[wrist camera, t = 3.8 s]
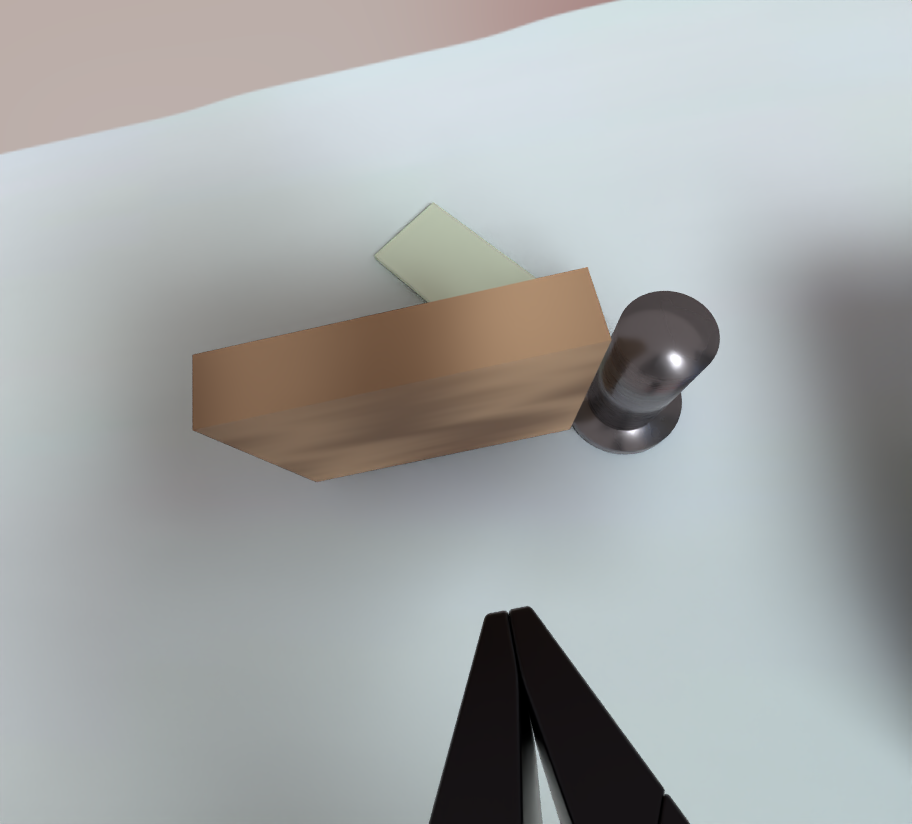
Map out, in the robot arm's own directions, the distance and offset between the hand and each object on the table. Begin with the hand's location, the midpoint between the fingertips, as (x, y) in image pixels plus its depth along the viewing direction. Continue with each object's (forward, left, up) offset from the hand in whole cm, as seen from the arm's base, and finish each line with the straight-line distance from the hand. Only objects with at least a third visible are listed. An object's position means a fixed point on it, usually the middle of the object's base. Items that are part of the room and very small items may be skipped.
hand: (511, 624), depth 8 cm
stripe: (+11, +7, -9) cm, 16 cm away
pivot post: (+9, -1, -9) cm, 13 cm away
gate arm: (+4, +5, -8) cm, 10 cm away
